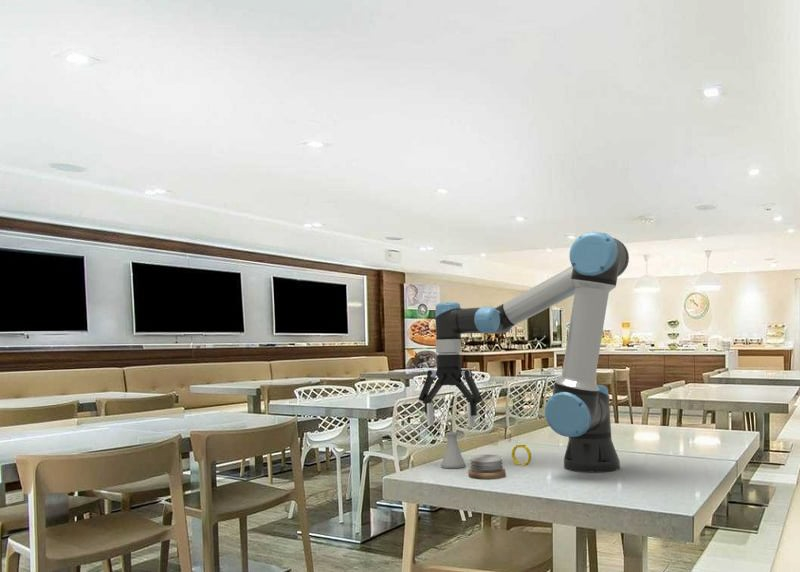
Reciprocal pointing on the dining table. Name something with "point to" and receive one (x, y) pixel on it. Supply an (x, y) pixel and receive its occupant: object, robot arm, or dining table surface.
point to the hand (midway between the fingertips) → (450, 426)
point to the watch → (527, 452)
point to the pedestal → (486, 467)
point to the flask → (452, 453)
